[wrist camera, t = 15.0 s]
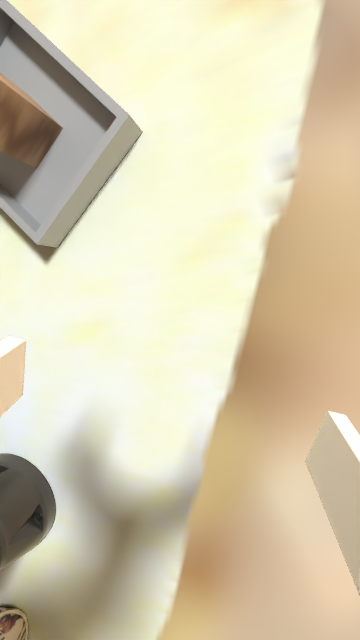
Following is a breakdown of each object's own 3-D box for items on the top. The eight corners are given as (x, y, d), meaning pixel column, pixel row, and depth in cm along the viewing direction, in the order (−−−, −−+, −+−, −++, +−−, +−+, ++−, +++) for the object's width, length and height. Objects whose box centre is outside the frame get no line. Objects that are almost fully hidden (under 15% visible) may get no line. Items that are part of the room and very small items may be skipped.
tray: (57, 247, 42) (36, 244, 38) (-50, 139, 43) (-80, 126, 39) (142, 131, 37) (129, 114, 33) (18, 15, 39) (-8, -14, 35)
